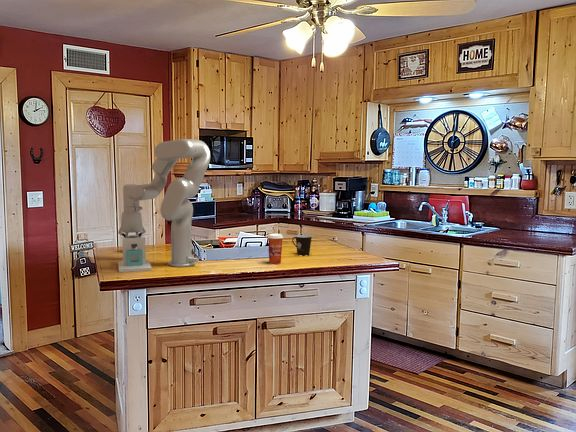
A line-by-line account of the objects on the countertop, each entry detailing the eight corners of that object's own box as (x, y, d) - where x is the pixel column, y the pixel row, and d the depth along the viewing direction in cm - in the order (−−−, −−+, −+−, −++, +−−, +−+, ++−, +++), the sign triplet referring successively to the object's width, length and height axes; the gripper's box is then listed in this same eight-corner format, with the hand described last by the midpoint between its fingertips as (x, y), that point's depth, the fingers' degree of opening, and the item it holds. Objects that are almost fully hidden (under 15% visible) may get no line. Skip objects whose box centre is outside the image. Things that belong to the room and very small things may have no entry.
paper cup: (269, 264, 254) (269, 236, 252) (265, 261, 261) (265, 233, 260) (284, 264, 256) (285, 235, 254) (280, 260, 263) (281, 233, 262)
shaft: (137, 250, 245) (137, 241, 245) (130, 251, 244) (130, 241, 244) (135, 243, 264) (135, 235, 263) (128, 244, 263) (128, 235, 262)
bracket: (151, 270, 238) (151, 240, 236) (119, 272, 234) (118, 242, 232) (148, 262, 255) (148, 234, 253) (118, 264, 250) (117, 236, 249)
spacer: (142, 265, 243) (142, 250, 242) (126, 266, 241) (126, 251, 240) (142, 264, 245) (142, 249, 244) (126, 265, 243) (126, 250, 242)
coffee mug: (314, 255, 278) (314, 237, 277) (298, 256, 275) (299, 237, 274) (305, 251, 289) (305, 233, 287) (290, 252, 285) (290, 234, 284)
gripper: (148, 208, 265) (148, 244, 267) (113, 209, 260) (114, 245, 262) (149, 209, 258) (149, 246, 260) (114, 210, 253) (114, 248, 255)
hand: (132, 245), depth 261 cm, fingers closed on shaft, 3 cm apart
